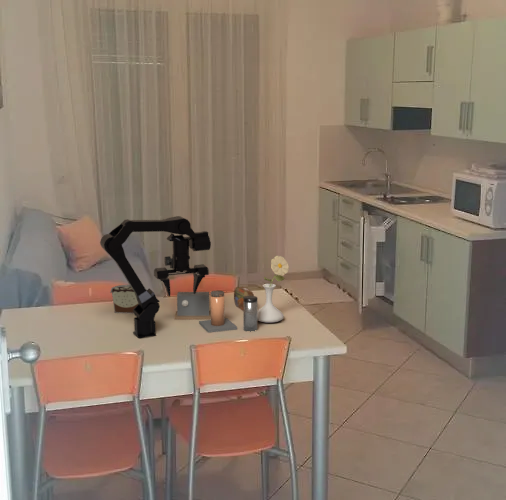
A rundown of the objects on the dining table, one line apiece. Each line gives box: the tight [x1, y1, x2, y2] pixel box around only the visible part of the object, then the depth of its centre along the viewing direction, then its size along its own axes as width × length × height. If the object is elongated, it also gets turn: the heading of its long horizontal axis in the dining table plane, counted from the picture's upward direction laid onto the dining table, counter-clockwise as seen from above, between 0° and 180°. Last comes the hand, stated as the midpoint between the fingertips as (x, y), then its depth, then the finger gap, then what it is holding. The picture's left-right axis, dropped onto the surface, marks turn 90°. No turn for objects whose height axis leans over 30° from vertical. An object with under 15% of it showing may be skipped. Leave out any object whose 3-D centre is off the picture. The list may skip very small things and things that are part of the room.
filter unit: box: [174, 291, 211, 321], centre depth 265 cm, size 14×8×9 cm, turn 92°
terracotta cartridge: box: [210, 289, 225, 326], centre depth 253 cm, size 5×5×12 cm
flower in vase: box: [257, 255, 290, 323], centre depth 259 cm, size 13×11×25 cm
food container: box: [109, 284, 138, 315], centre depth 271 cm, size 12×6×10 cm, turn 84°
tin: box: [233, 286, 255, 312], centre depth 275 cm, size 15×3×8 cm, turn 25°
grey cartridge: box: [242, 295, 258, 333], centre depth 250 cm, size 5×5×12 cm
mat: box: [198, 317, 238, 334], centre depth 254 cm, size 11×11×1 cm
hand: (181, 294), depth 247 cm, fingers open, 9 cm apart
